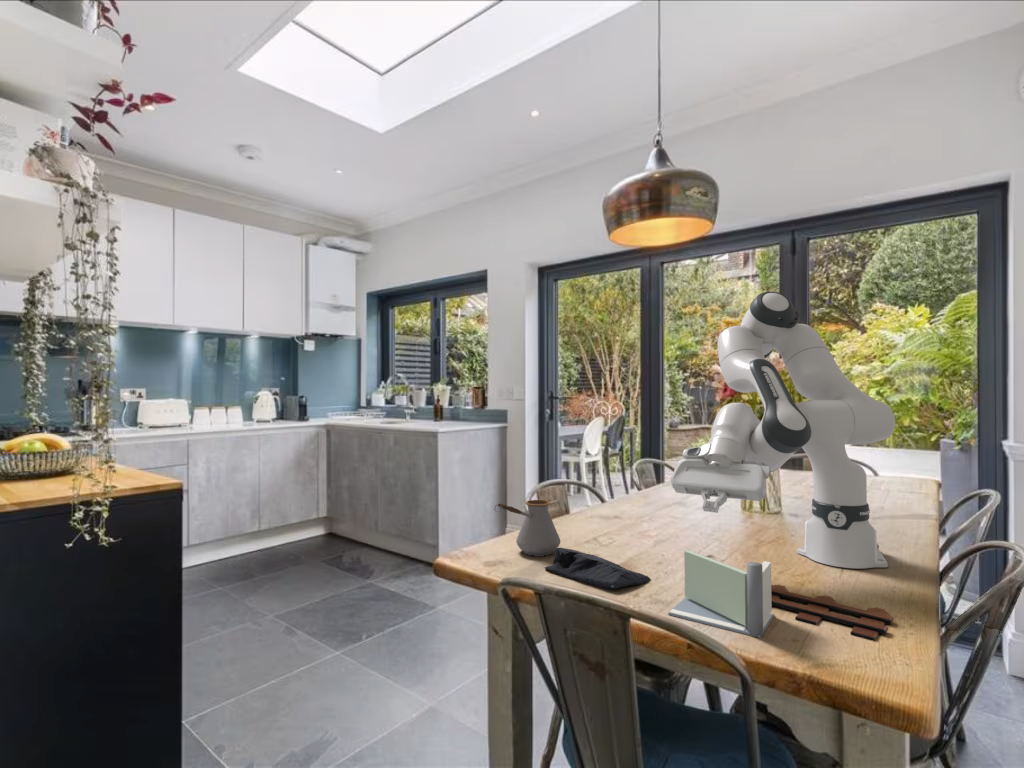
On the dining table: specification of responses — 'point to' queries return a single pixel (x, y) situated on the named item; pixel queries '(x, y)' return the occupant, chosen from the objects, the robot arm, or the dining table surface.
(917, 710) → the dining table surface
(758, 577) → the fence post and white panel
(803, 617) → the decorative fence
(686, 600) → the card
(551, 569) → the dark slate chunk
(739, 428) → the robot arm
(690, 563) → the green wall panel
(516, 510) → the coffee pot
